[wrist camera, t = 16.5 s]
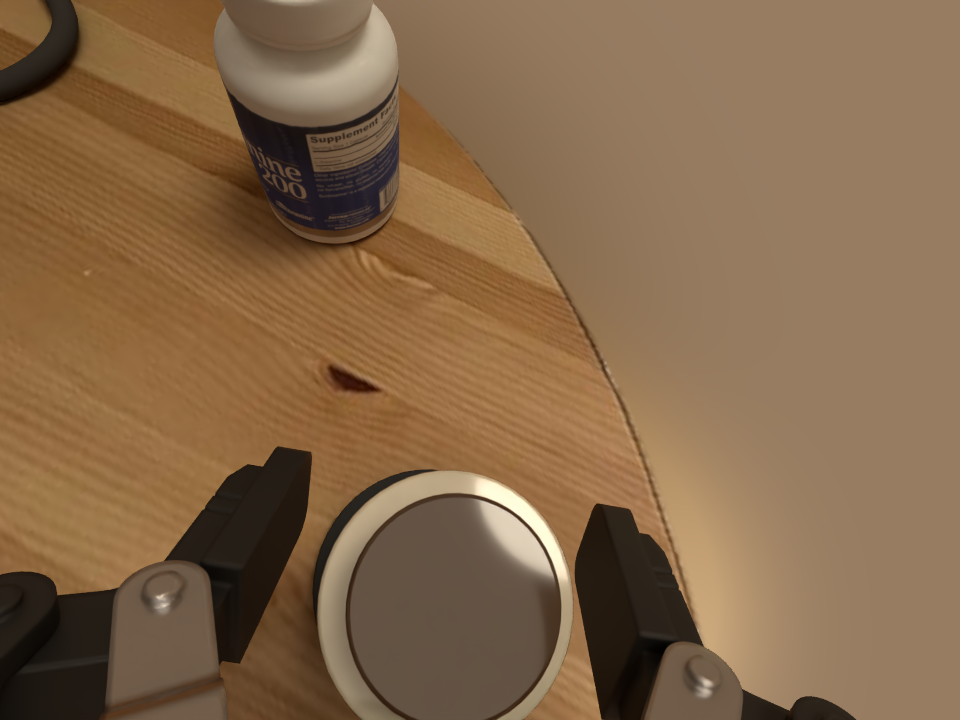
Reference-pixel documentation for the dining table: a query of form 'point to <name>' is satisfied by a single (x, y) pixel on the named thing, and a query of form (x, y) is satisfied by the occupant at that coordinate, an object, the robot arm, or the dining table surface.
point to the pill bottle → (316, 109)
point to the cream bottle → (445, 602)
